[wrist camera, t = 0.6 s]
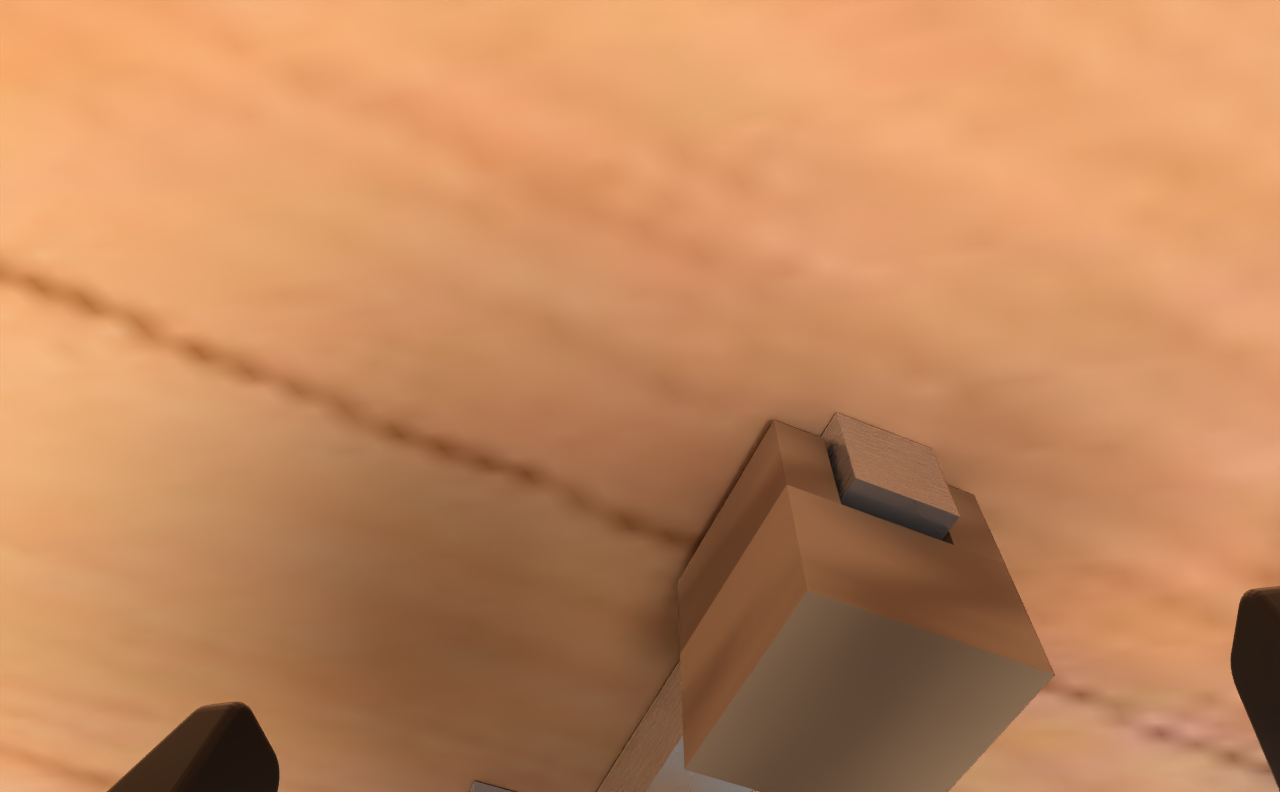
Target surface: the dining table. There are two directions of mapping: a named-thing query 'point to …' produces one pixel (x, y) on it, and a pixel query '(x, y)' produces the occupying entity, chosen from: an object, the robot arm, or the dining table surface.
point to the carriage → (845, 638)
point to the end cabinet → (485, 788)
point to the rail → (866, 481)
